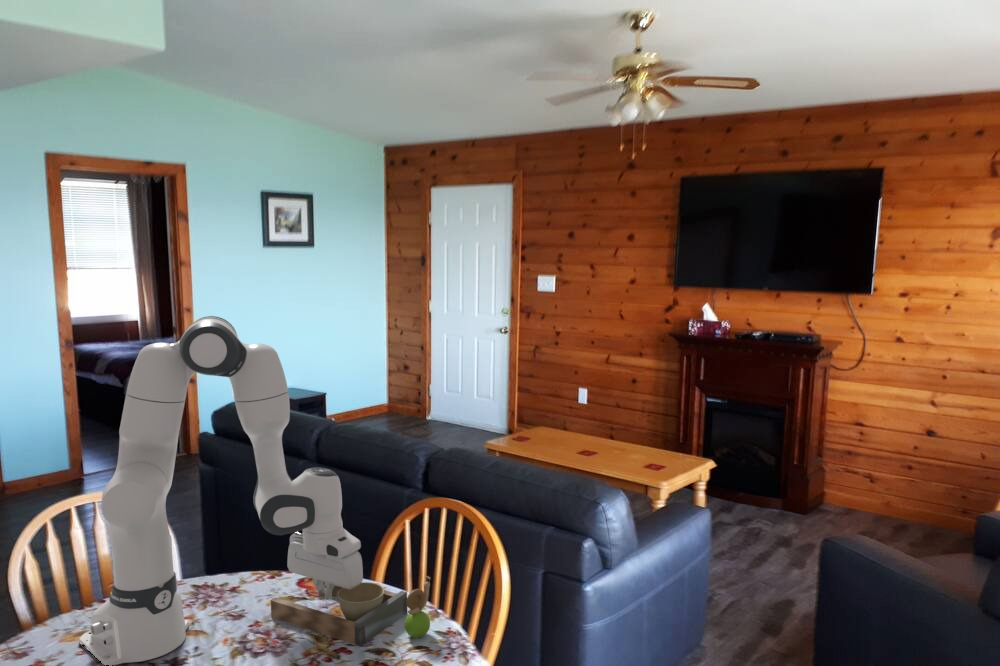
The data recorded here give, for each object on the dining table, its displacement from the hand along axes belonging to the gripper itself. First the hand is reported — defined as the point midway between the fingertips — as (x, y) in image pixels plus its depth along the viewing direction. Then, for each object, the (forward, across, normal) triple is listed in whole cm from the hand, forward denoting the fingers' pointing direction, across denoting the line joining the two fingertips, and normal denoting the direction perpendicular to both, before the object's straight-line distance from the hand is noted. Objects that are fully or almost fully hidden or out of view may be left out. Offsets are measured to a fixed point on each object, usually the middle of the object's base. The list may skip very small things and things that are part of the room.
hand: (324, 597), depth 161 cm
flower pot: (+4, +11, 0) cm, 11 cm away
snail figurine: (+4, +25, +2) cm, 25 cm away
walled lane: (+3, +4, 0) cm, 5 cm away
